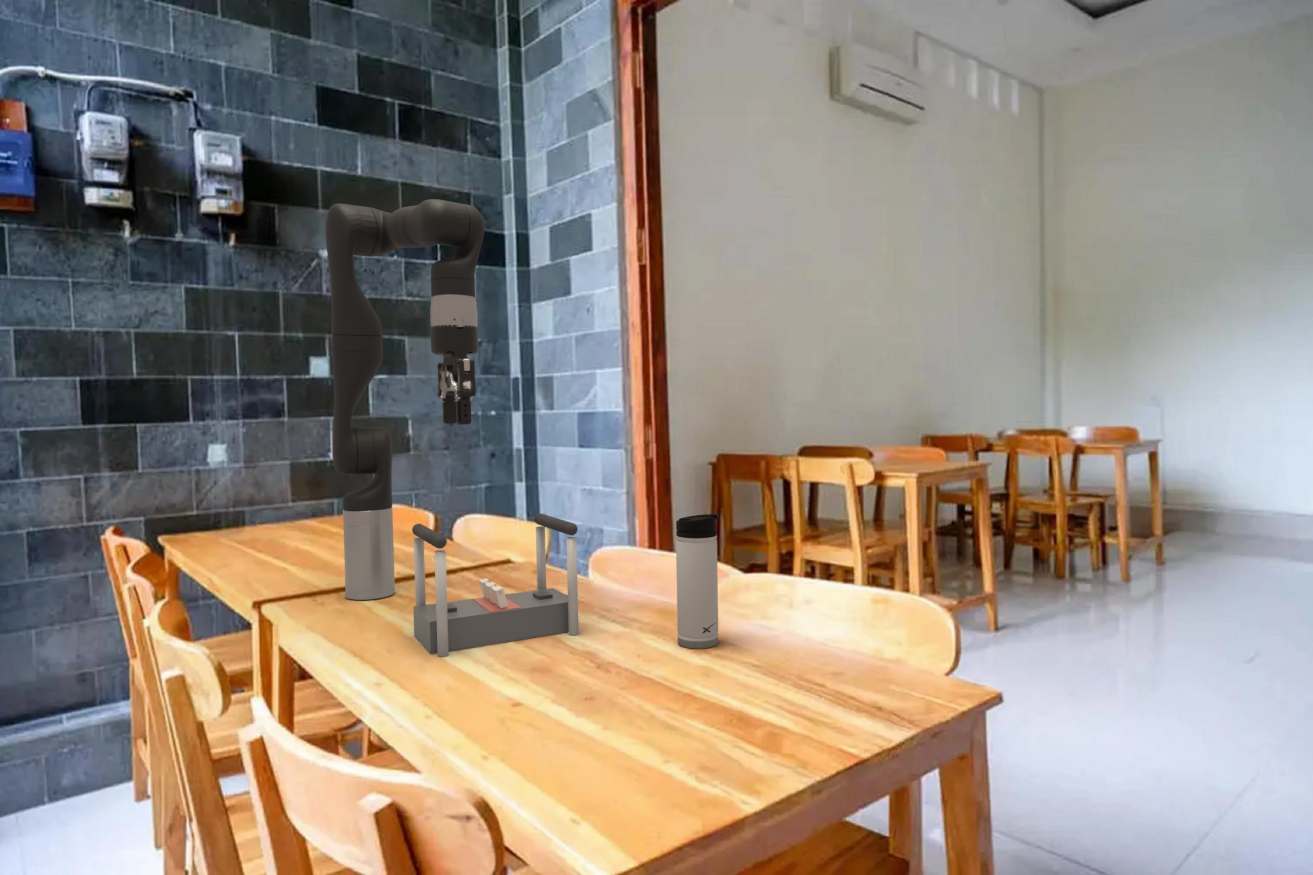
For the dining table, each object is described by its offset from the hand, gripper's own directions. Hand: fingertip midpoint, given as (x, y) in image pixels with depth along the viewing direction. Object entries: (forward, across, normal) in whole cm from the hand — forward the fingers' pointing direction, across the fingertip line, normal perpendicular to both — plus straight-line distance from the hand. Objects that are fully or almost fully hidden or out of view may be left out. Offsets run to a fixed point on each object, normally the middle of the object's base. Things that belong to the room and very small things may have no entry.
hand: (456, 423), depth 135 cm
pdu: (+34, +6, +4) cm, 35 cm away
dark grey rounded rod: (+18, +6, -6) cm, 20 cm away
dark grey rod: (+18, +6, +14) cm, 24 cm away
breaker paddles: (+29, +6, +4) cm, 30 cm away
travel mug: (+34, +28, +29) cm, 53 cm away
